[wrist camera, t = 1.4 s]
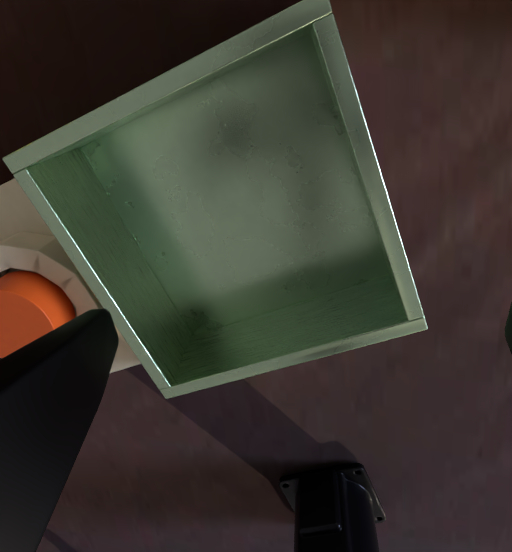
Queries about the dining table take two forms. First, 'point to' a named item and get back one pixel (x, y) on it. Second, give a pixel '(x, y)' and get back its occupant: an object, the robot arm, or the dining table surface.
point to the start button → (30, 309)
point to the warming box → (232, 209)
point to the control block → (45, 258)
